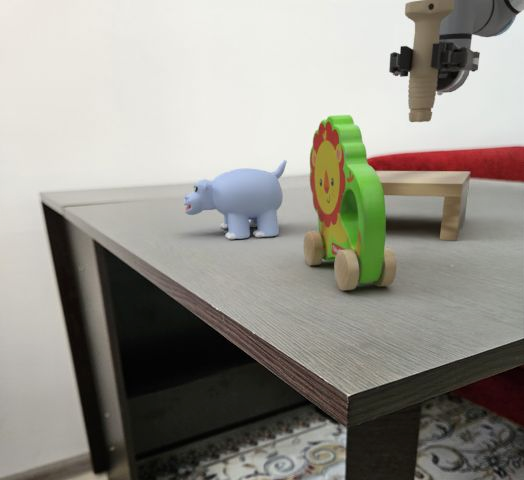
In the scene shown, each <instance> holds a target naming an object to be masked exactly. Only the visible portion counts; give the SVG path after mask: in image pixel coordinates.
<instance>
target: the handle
mask: <svg viewBox="0 0 524 480" xmlns="http://www.w3.org/2000/svg"><path fill="white" fill-rule="evenodd" d="M453 8H454V0H413V1H409V2H407V3H405V5H404V15H405V17H407V19H409V20H411V21H412V22H414V36H413V46H412V49H413V53H412V62H411V71H410V72H409V75H408V77H409V79H408V91H407V92H408V95H407V97H408V99H407V100H408V103H407V104H408V110H409V112H408V121H409V122H410V123H423V122H426V123H427V122H430V121H431V120H432V116H433V111H432V109H433V108H434V105H435V102H436V101H435V100H436V95H437V91H436V90H437V88H436V87H437V80H438V78H437V76H438V69H435V68H432V67H431V61H432V49H433V44H435V43H439V34H440V25H441V21H442V20H443V19H444V18H445V17H446V16H448V15H449V14H450V13H451V12H452V11H453Z"/></svg>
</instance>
